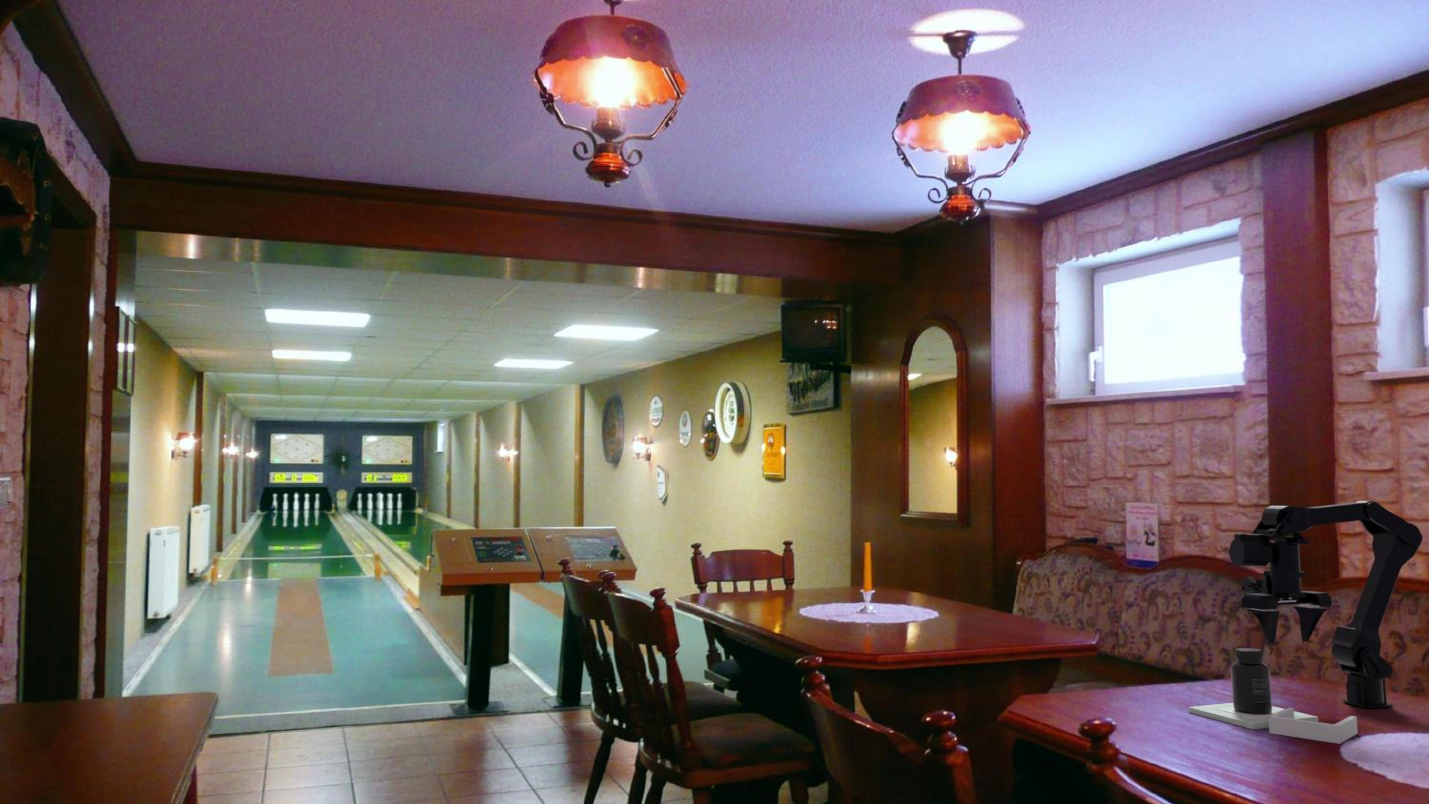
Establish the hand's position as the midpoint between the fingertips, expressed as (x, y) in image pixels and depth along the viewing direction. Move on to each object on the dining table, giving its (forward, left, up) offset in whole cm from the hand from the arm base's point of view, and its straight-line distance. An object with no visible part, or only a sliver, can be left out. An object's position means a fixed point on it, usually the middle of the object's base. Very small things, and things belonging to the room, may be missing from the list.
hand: (1288, 642), depth 210 cm
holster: (+12, +20, -13) cm, 27 cm away
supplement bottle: (+14, +6, -12) cm, 19 cm away
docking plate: (+14, +6, -13) cm, 20 cm away
